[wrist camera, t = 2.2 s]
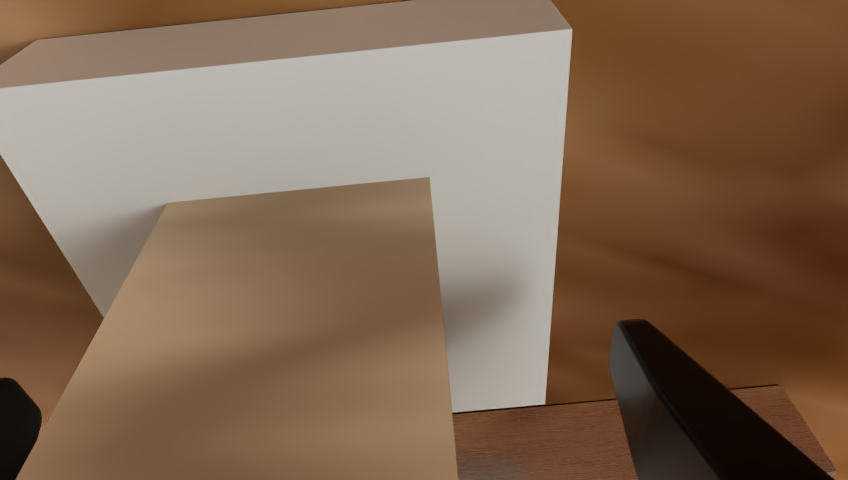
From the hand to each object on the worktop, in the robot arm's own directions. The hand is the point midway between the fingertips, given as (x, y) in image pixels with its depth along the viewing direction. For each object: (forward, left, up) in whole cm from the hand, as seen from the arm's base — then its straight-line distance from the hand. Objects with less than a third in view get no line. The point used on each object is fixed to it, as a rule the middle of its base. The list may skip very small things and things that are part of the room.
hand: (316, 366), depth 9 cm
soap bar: (0, 0, -4) cm, 4 cm away
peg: (0, 0, -2) cm, 2 cm away
